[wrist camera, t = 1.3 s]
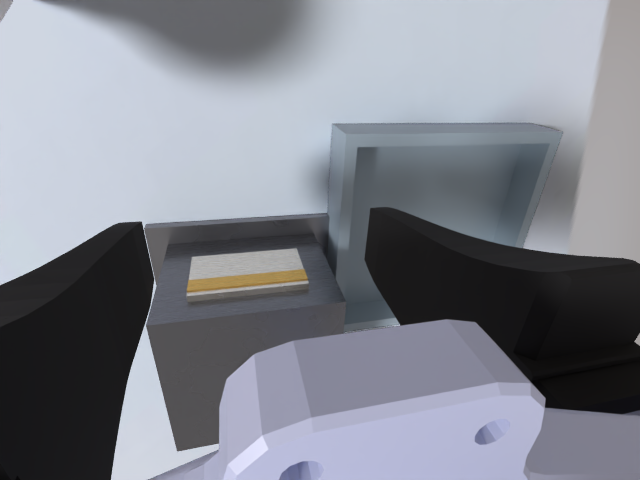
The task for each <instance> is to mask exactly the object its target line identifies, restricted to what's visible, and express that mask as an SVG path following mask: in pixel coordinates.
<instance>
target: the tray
mask: <svg viewBox="0 0 640 480" xmlns="http://www.w3.org/2000/svg"><path fill="white" fill-rule="evenodd" d="M562 134H563V132H562V131H558V130H554V129H550V128H547V127H543V126H539V125H535V124H532V123H403V124H332V138H331V156H330V175H329V193H328V212H327V213H328V215H329V217H330V218H329V236H328V253H327V262H328V264H329V266H330V268H331V270H332V273H333V275H334V277H335V279H336V281H337V283H338V285H339V287H340V289H341V291H342V294H343V296H344V298H345V300H346V312H345V322H344V332H347V331H354V330H362V329H369V328H376V327H383V326H390V325H398V324H399V322H398V321H397V319H396V317H395V316H394V314H393V313H392V311H391V309H390V308H389V306H388V305H387V303H386V301H385V300H384V298H383V297H382V295H381V293H380V292H379V290H378V288H377V287H376V285H375V283H374V282H373V279H372V277H371V275H370V272H369V270H368V267H367V265H366V262H365V260H364V258H365V249H366V240H367V232H368V223H369V214H370V208H376V207H390V208H394V209H398V210H401V211H403V212H406V213H409V214H411V215H414V216H416V217H419V218H421V219H424V220H426V221H429V222H432V223H434V224H437V225H439V226H442V227H445V228H448V229H450V230H453V231H456V232H459V233H462V234H465V235H468V236H472V237H475V238H479V239H483V240H486V241H490V242H494V243H498V244H503V245H507V246H513V247H518V248H522V247H523V244H524V242H525V239H526V236H527V233H528V230H529V227H530V225H531V222H532V219H533V216H534V213H535V210H536V208H537V205H538V202H539V199H540V196H541V193H542V191H543V188H544V185H545V182H546V179H547V176H548V173H549V171H550V168H551V165H552V162H553V159H554V156H555V154H556V151H557V148H558V145H559V142H560V139H561V137H562Z"/></svg>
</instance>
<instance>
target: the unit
mask: <svg viewBox="0 0 640 480" xmlns="http://www.w3.org/2000/svg"><path fill="white" fill-rule="evenodd" d="M329 218H330V217H329V215H328V213H323V214H306V215H290V216H274V217H258V218H241V219H225V220H209V221H193V222H176V223H160V224H146V226H145V228H144V229H145V234H146V239H147V243H148V248H149V253H150V257H151V262H152V267H153V271H154V276H155V281H156V285H157V287H156V291H155V294H154V298H153V302H152V306H151V309H150V313H149V317H148V321H147V324H146V327H147V331H148V335H149V339H150V343H151V347H152V351H153V355H154V359H155V363H156V367H157V371H158V376H159V380H160V384H161V388H162V392H163V396H164V400H165V404H166V408H167V412H168V416H169V420H170V424H171V428H172V432H173V436H174V440H175V444H176V448H177V451H182V450H187V449H192V448H197V447H203V446H208V445H213V444H218V443H219V406H220V402H221V398H222V395H223V391H224V387H225V383H226V379H227V378H228V377H229V376H230V375H232V374H233V373H234V372H235V371H236V370H237V369H238V368H239V367H240V366H241V365H243V364H244V363H245V362H246V361H247V360H248V359H249V358H250V357H251V356H252V355H254V354H256V353H258V352H261V351H264V350H267V349H270V348H273V347H276V346H279V345H282V344H285V343H288V342H291V341H295V340H302V339H309V338H316V337H324V336H331V335H338V334H343V333H344V322H345V312H346V300H345V298H344V296H343V294H342V291H341V289H340V287H339V285H338V283H337V281H336V279H335V277H334V275H333V273H332V270H331V268H330V266H329V264H328V262H327V253H328V236H329Z"/></svg>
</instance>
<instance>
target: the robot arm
mask: <svg viewBox="0 0 640 480" xmlns="http://www.w3.org/2000/svg"><path fill="white" fill-rule="evenodd" d="M364 260H365V262H366V265H367V267H368V270H369V272H370V275H371V277H372V279H373V282H374V283H375V285H376V287H377V288H378V290H379V292H380V293H381V295H382V297H383V298H384V300H385V301H386V303H387V305H388V306H389V308H390V309H391V311H392V313H393V314H394V316H395V317H396V319H397V321H398V322H399V324H400V325H401V326H395V327H388V328H381V329H374V330H366V331H359V332H352V333H345V334H338V335H331V336H324V337H316V338H309V339H302V340H295V341H291V342H288V343H285V344H282V345H279V346H276V347H273V348H270V349H267V350H264V351H261V352H258V353H256V354H254V355H252V356H251V357H250V358H249V359H248V360H247V361H246V362H245V363H244V364H243V365H241V366H240V367H239V368H238V369H237V370H236V371H235V372H234V373H233V374H232V375H230V376H229V377H228V378H227V379H226V383H225V387H224V391H223V395H222V398H221V402H220V406H219V450H217V451H214V452H212V453H210V454H207V455H205V456H203V457H200V458H198V459H196V460H193V461H191V462H189V463H186V464H184V465H181V466H179V467H177V468H174V469H172V470H170V471H167V472H165V473H163V474H160V475H158V476H156V477H153V478H151V479H148V480H640V346H639V345H638V344H636V343H635V342H634V341H635V340H636V338H637V336H638V335H639V333H640V264H639V263H637V262H636V261H633V260H629V259H624V258H608V257H591V256H575V255H566V254H557V253H549V252H542V251H535V250H529V249H523V248H518V247H513V246H507V245H503V244H498V243H494V242H490V241H486V240H483V239H479V238H475V237H472V236H468V235H465V234H462V233H459V232H456V231H453V230H450V229H448V228H445V227H442V226H439V225H437V224H434V223H432V222H429V221H426V220H424V219H421V218H419V217H416V216H414V215H411V214H409V213H406V212H403V211H401V210H398V209H394V208H390V207H376V208H370V214H369V223H368V232H367V240H366V249H365V258H364ZM153 284H154V276H153V271H152V267H151V262H150V258H149V253H148V248H147V244H146V239H145V235H144V230H143V225H142V222H125V223H118V224H115V225H113V226H111V227H109V228H107V229H106V230H104V231H102V232H100V233H99V234H97V235H95V236H94V237H92V238H90V239H89V240H87V241H85V242H84V243H82V244H80V245H79V246H77V247H75V248H74V249H72V250H70V251H69V252H67V253H65V254H63V255H61V256H59V257H58V258H56V259H54V260H52V261H50V262H48V263H47V264H45V265H43V266H41V267H39V268H37V269H35V270H33V271H31V272H29V273H27V274H25V275H23V276H20V277H18V278H16V279H14V280H11V281H9V282H7V283H5V284H2V285H0V480H111V474H112V467H113V460H114V453H115V447H116V441H117V435H118V429H119V423H120V417H121V411H122V406H123V401H124V395H125V390H126V385H127V380H128V376H129V373H130V369H131V365H132V362H133V359H134V356H135V353H136V350H137V347H138V344H139V340H140V337H141V334H142V331H143V328H144V325H145V322H146V318H147V315H148V312H149V308H150V304H151V298H152V291H153Z"/></svg>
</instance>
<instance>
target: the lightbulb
mask: <svg viewBox="0 0 640 480" xmlns="http://www.w3.org/2000/svg"><path fill="white" fill-rule="evenodd" d="M12 2H13V0H0V22H1V21H2V19H3V17H4V16H5V14H6V13H7V11H8V9H9V8H10V6H11V4H12Z"/></svg>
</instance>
